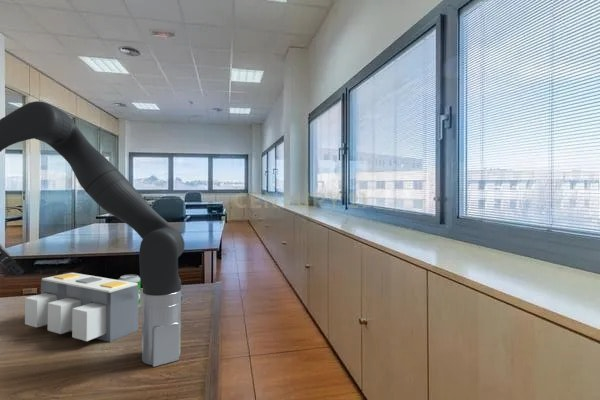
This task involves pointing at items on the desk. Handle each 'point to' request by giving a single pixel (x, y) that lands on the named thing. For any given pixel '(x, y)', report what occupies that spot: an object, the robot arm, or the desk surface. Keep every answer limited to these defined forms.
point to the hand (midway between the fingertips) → (16, 270)
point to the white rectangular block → (38, 309)
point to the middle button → (61, 314)
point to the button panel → (100, 299)
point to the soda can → (132, 279)
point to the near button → (89, 321)
